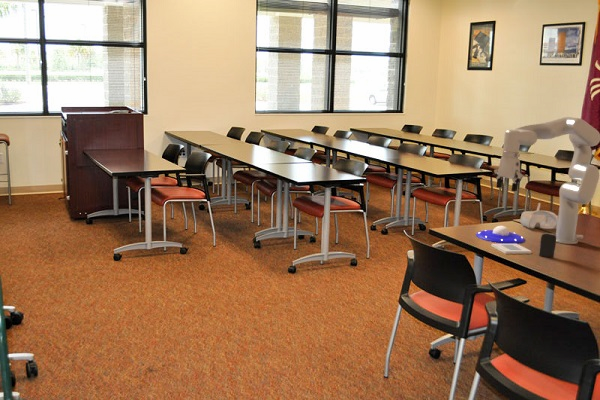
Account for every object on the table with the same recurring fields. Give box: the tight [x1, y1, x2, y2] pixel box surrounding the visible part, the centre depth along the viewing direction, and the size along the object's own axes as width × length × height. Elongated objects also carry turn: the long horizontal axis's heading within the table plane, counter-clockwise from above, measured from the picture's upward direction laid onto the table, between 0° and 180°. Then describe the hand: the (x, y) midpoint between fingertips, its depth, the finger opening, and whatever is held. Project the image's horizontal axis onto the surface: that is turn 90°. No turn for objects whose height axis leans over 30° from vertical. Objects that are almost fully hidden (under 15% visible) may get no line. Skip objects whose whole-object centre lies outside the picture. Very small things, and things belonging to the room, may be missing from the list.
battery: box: [538, 232, 557, 259], centre depth 311 cm, size 7×4×11 cm, turn 64°
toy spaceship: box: [475, 225, 526, 245], centre depth 344 cm, size 25×25×7 cm
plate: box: [490, 243, 532, 255], centre depth 321 cm, size 14×14×1 cm
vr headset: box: [520, 202, 558, 230], centre depth 371 cm, size 18×11×14 cm, turn 98°
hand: (506, 189), depth 323 cm, fingers open, 9 cm apart
